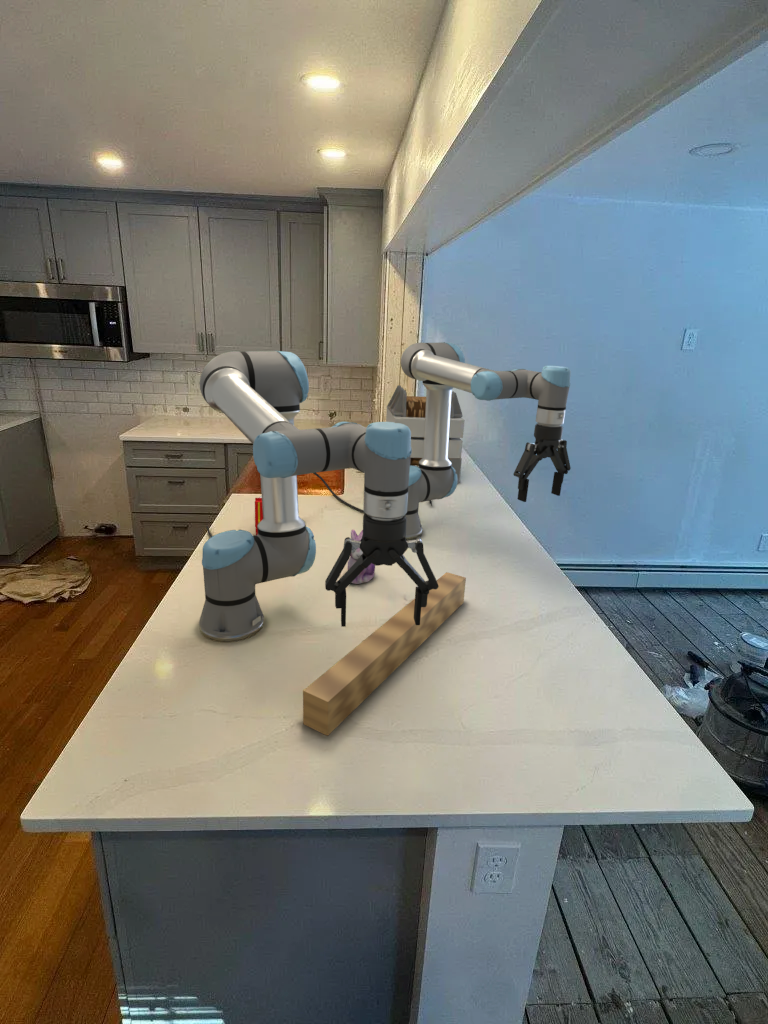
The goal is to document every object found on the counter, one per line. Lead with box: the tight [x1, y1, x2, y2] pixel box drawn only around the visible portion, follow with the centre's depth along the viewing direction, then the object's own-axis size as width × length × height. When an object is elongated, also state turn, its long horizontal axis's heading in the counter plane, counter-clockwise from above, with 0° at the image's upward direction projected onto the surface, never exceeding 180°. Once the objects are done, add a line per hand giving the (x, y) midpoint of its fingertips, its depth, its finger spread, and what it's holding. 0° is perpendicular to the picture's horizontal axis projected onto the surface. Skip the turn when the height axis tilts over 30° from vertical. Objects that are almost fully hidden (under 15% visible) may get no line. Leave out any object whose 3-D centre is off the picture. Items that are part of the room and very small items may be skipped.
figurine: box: [347, 529, 376, 585], centre depth 163 cm, size 9×10×15 cm
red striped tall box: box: [254, 494, 263, 535], centre depth 202 cm, size 12×13×30 cm
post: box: [302, 571, 467, 737], centre depth 130 cm, size 62×6×8 cm, turn 149°
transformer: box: [385, 384, 465, 484], centre depth 268 cm, size 34×33×41 cm
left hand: (380, 622), depth 104 cm, fingers open, 13 cm apart
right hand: (538, 497), depth 163 cm, fingers open, 13 cm apart
